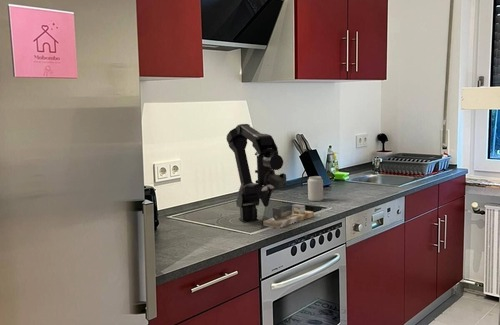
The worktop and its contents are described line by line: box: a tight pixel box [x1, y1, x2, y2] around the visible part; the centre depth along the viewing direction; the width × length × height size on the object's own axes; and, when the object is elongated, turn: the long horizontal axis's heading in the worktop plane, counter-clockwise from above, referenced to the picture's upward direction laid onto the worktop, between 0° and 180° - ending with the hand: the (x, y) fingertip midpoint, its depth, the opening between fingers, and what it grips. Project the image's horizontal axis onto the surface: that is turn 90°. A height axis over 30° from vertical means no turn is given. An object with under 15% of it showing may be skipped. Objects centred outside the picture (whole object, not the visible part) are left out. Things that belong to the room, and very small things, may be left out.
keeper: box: [291, 203, 306, 214], centre depth 209 cm, size 3×5×3 cm, turn 48°
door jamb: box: [263, 209, 315, 229], centre depth 205 cm, size 24×8×2 cm, turn 138°
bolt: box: [272, 206, 292, 220], centre depth 202 cm, size 10×3×5 cm, turn 138°
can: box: [307, 175, 324, 202], centre depth 245 cm, size 8×8×12 cm
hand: (266, 206), depth 194 cm, fingers closed
